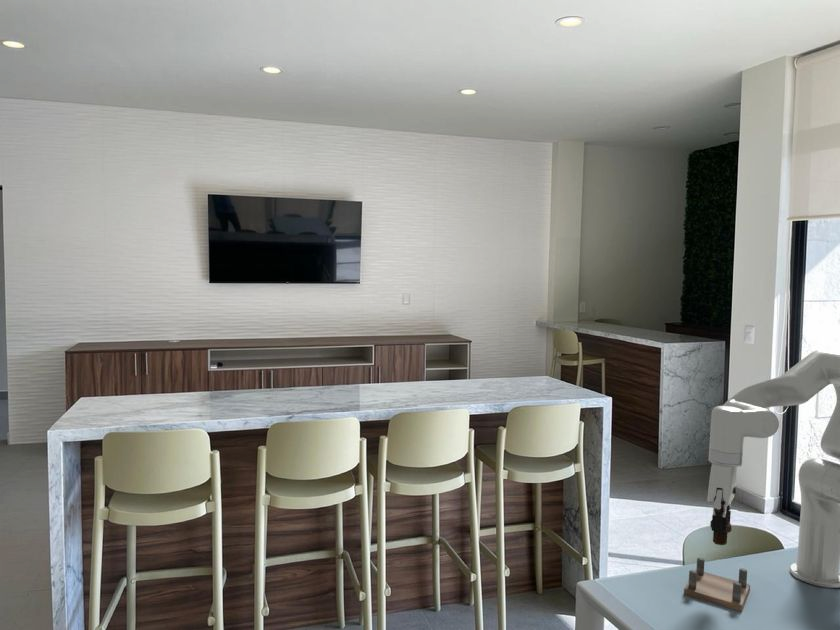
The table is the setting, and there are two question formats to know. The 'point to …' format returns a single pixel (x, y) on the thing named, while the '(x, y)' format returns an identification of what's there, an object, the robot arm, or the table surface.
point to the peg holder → (717, 587)
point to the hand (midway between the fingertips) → (720, 527)
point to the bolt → (722, 537)
